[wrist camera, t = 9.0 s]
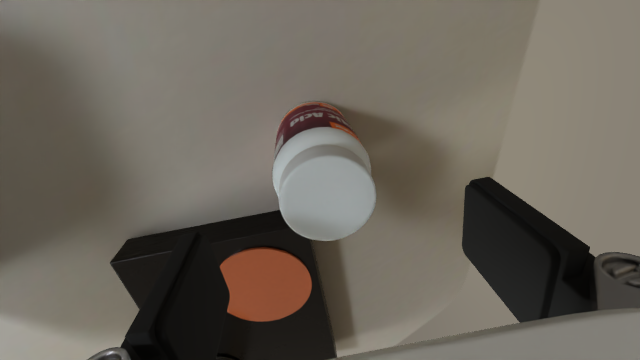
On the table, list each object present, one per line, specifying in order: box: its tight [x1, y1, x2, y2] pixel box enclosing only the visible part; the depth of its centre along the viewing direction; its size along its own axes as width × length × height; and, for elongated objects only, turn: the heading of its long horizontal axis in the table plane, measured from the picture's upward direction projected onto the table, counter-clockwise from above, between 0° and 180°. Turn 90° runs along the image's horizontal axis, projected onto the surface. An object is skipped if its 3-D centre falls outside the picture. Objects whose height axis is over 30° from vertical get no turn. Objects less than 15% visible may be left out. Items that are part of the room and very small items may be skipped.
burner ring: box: [219, 247, 312, 322], centre depth 21 cm, size 7×7×1 cm
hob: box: [110, 210, 337, 360], centre depth 24 cm, size 17×14×3 cm
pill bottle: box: [272, 101, 376, 241], centre depth 16 cm, size 5×5×8 cm
